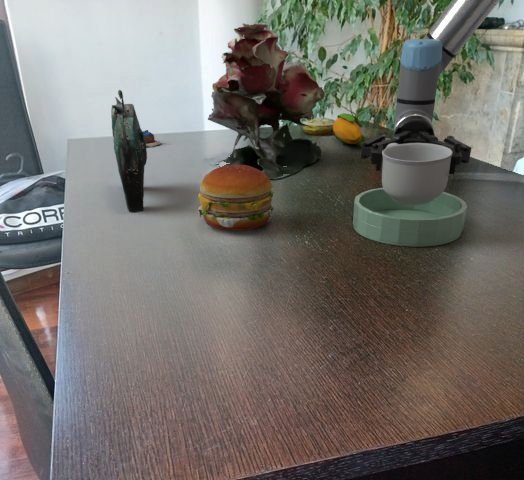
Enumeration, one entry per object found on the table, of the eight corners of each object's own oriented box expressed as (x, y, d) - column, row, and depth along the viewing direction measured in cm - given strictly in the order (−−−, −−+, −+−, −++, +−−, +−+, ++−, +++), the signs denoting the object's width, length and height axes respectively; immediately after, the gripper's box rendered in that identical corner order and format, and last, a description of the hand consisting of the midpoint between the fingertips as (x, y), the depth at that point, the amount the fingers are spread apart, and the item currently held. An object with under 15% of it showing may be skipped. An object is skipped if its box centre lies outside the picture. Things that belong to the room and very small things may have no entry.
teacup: (456, 207, 90) (465, 155, 86) (391, 212, 89) (397, 159, 85) (420, 183, 102) (427, 136, 98) (362, 187, 100) (366, 139, 96)
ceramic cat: (120, 185, 124) (106, 85, 114) (150, 183, 125) (139, 84, 115) (120, 214, 107) (103, 99, 97) (154, 211, 109) (141, 97, 98)
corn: (354, 108, 162) (373, 120, 145) (354, 136, 166) (373, 151, 149) (328, 110, 162) (345, 123, 145) (329, 138, 166) (345, 154, 149)
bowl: (457, 213, 106) (461, 189, 103) (467, 250, 90) (472, 222, 88) (356, 208, 109) (358, 184, 107) (349, 242, 94) (350, 216, 91)
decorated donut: (343, 131, 173) (344, 118, 171) (325, 137, 165) (326, 123, 163) (314, 127, 178) (315, 115, 176) (295, 133, 171) (296, 120, 169)
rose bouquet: (331, 154, 147) (337, 20, 131) (281, 182, 125) (282, 25, 109) (244, 145, 157) (240, 20, 141) (184, 170, 135) (172, 24, 119)
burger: (266, 238, 96) (266, 178, 91) (189, 233, 98) (184, 175, 93) (279, 213, 107) (279, 158, 102) (209, 209, 109) (206, 155, 104)
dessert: (125, 143, 157) (131, 123, 157) (136, 153, 164) (141, 134, 164) (151, 147, 155) (156, 127, 155) (161, 157, 162) (166, 137, 162)
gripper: (473, 158, 108) (487, 191, 90) (350, 153, 112) (340, 184, 94) (480, 116, 104) (497, 141, 86) (353, 113, 109) (343, 136, 90)
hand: (415, 163), depth 90 cm, fingers closed on teacup, 11 cm apart
